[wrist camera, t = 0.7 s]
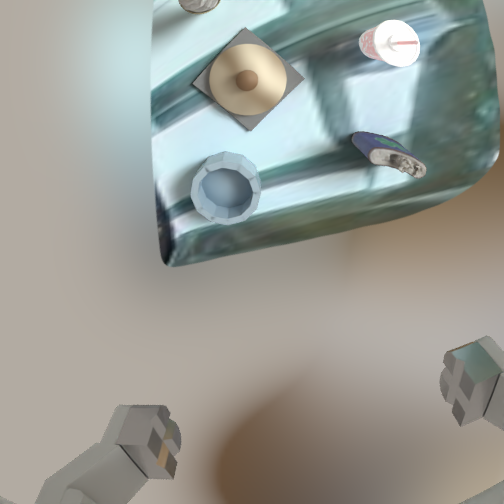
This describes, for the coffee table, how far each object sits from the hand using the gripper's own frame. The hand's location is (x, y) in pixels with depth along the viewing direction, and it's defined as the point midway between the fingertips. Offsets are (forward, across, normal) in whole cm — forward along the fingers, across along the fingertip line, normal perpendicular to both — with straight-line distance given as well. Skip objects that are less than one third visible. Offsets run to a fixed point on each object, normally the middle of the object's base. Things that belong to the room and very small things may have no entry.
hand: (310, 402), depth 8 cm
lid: (+39, 0, -16) cm, 42 cm away
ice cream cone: (+37, +2, -28) cm, 46 cm away
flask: (+42, -18, -3) cm, 45 cm away
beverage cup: (+38, -19, -18) cm, 46 cm away
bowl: (+43, +6, -1) cm, 44 cm away
